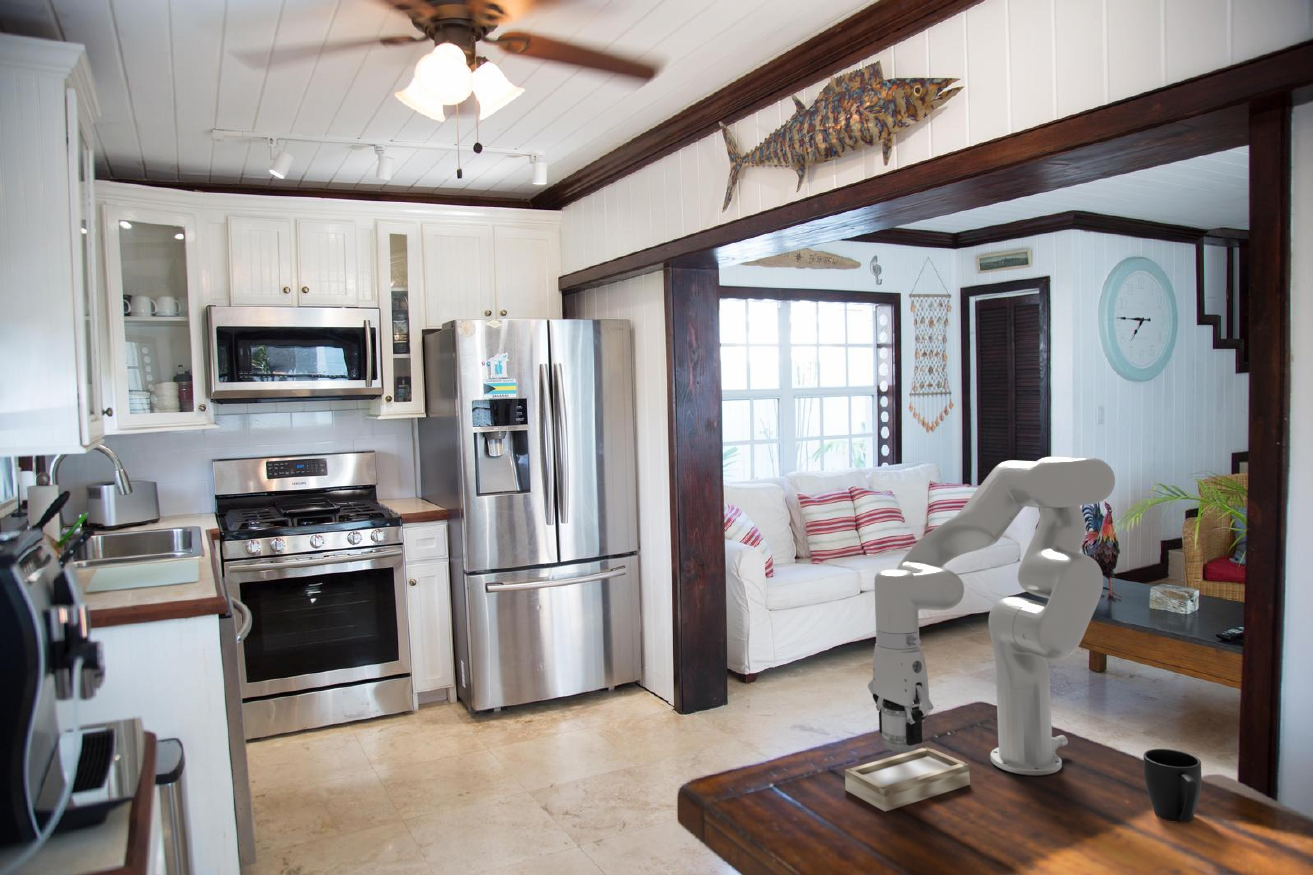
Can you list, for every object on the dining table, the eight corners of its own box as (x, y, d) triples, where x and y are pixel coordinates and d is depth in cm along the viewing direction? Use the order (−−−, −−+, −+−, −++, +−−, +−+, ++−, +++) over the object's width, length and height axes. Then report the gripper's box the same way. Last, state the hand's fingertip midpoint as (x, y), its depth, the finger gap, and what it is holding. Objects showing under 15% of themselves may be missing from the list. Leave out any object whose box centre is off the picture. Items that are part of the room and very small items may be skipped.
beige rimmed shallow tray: (928, 765, 170) (927, 746, 170) (969, 784, 161) (969, 764, 161) (845, 790, 161) (844, 770, 161) (885, 811, 152) (884, 790, 151)
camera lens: (916, 754, 156) (915, 710, 156) (880, 750, 158) (878, 707, 158) (919, 741, 162) (918, 699, 162) (884, 738, 164) (883, 696, 164)
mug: (1163, 836, 139) (1161, 776, 138) (1138, 803, 150) (1136, 747, 150) (1221, 839, 137) (1219, 778, 137) (1191, 805, 149) (1189, 749, 149)
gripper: (948, 646, 154) (951, 748, 154) (880, 627, 169) (883, 720, 169) (916, 652, 150) (919, 757, 151) (849, 632, 166) (852, 728, 166)
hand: (900, 737), depth 160 cm, fingers closed on camera lens, 6 cm apart
